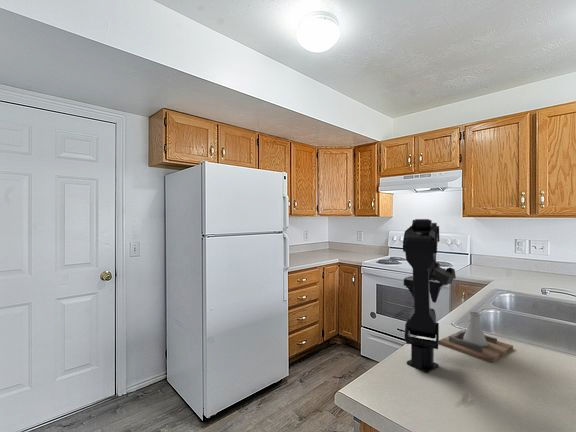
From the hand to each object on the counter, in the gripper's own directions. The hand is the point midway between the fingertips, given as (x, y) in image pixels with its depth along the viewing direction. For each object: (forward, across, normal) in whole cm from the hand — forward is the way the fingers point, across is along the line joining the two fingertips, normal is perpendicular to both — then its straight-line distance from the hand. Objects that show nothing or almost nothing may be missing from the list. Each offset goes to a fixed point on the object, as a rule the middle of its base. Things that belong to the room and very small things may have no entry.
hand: (426, 304), depth 103 cm
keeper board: (+13, +10, -11) cm, 20 cm away
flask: (+12, +10, -11) cm, 19 cm away
